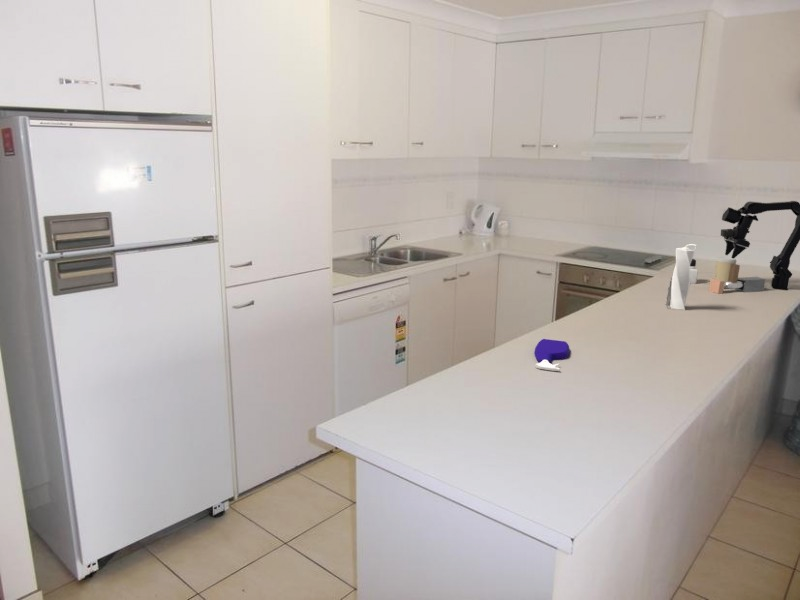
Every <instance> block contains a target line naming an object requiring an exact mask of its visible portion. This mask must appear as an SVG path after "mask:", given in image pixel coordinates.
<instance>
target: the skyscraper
mask: <svg viewBox="0 0 800 600" xmlns="http://www.w3.org/2000/svg"><path fill="white" fill-rule="evenodd" d="M689 246H695V247H694V249H690V247H689ZM697 246H698V245H697V244H694V243H690V244H689V243H688V244H686V245H685V246H684V247H683V246H682V247H677V248H675V266H674V270H673V272H672V277H670V281H669V286H668V289H667V295H666V301H665V308H666V309H667V310H676V309H678V311H686V307H685V304H686V301H687V298H688V295H689V291H690V286H691V283H690V279H691V270H690V264H691V261H692V259H694V258H693V257H694V256H695V255H694V254H695V251H696V248H697Z"/></svg>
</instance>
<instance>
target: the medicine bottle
mask: <svg viewBox="0 0 800 600" xmlns="http://www.w3.org/2000/svg"><path fill="white" fill-rule="evenodd" d="M696 265H697V260H696V259H695V258H692V261H691V264H690V270H691V279H690V285H691V284H692V285H693V284H697V281H698V273H699V269H697V268H696Z"/></svg>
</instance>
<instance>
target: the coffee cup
mask: <svg viewBox="0 0 800 600" xmlns="http://www.w3.org/2000/svg"><path fill="white" fill-rule="evenodd" d="M715 261H716V262H715V270H714V271H715V272H714V279H718V280H722V281H725V282H728V277H729V271H730V265H731V264H737V259H735V258H734V259H733V258H731V257H726V256H725V257H724V256H719V257H716V259H715Z"/></svg>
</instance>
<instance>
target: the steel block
mask: <svg viewBox="0 0 800 600" xmlns="http://www.w3.org/2000/svg"><path fill="white" fill-rule="evenodd" d="M737 281H745V282H744V288H739V289H734V290H735V291H739V292H743V293H752V292H764V290H765V285H766V278H762V277H758V276H745V277H744V276H743V277H738V280H737Z"/></svg>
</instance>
